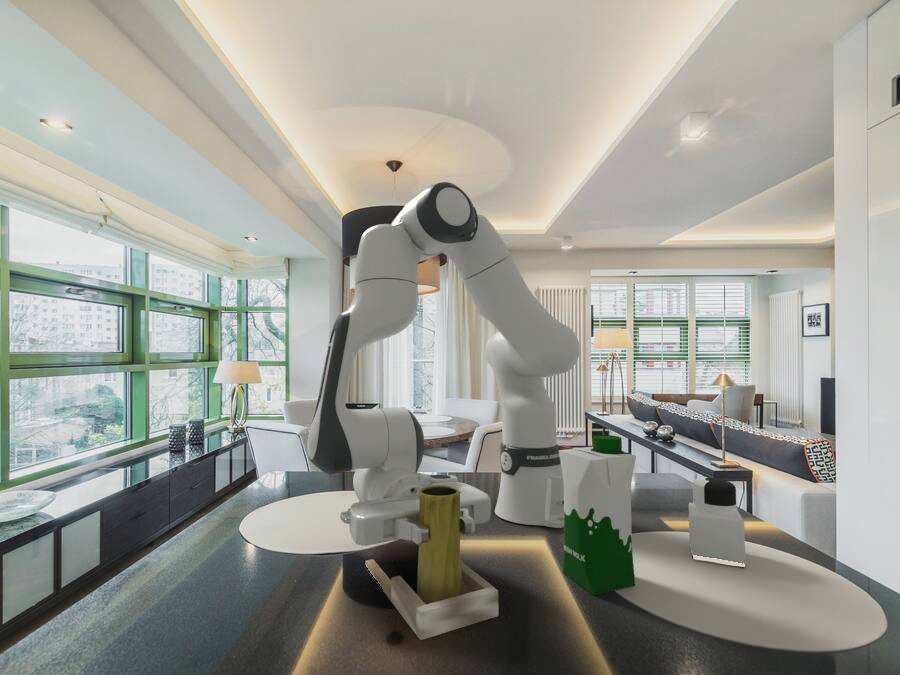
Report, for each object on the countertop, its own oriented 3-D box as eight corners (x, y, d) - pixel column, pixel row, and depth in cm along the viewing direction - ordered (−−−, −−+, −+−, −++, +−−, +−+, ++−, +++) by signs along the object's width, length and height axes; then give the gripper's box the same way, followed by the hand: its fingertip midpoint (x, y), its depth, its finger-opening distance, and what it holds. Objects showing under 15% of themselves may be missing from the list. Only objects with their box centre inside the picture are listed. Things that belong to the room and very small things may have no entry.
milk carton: (645, 588, 62) (642, 440, 63) (592, 600, 59) (589, 445, 60) (601, 561, 70) (599, 431, 71) (552, 571, 67) (551, 435, 68)
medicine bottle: (738, 551, 74) (736, 477, 75) (746, 569, 68) (743, 488, 68) (689, 543, 77) (687, 472, 78) (692, 560, 71) (690, 482, 71)
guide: (427, 553, 73) (428, 534, 73) (498, 615, 55) (498, 590, 55) (365, 567, 68) (365, 547, 68) (420, 640, 50) (420, 612, 50)
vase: (455, 620, 54) (454, 498, 55) (408, 612, 56) (408, 494, 57) (469, 595, 60) (468, 486, 60) (426, 589, 61) (425, 482, 62)
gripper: (336, 490, 64) (367, 519, 52) (462, 473, 73) (512, 495, 61) (336, 535, 63) (366, 576, 51) (462, 513, 73) (513, 542, 61)
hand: (447, 532), depth 56 cm, fingers open, 5 cm apart
